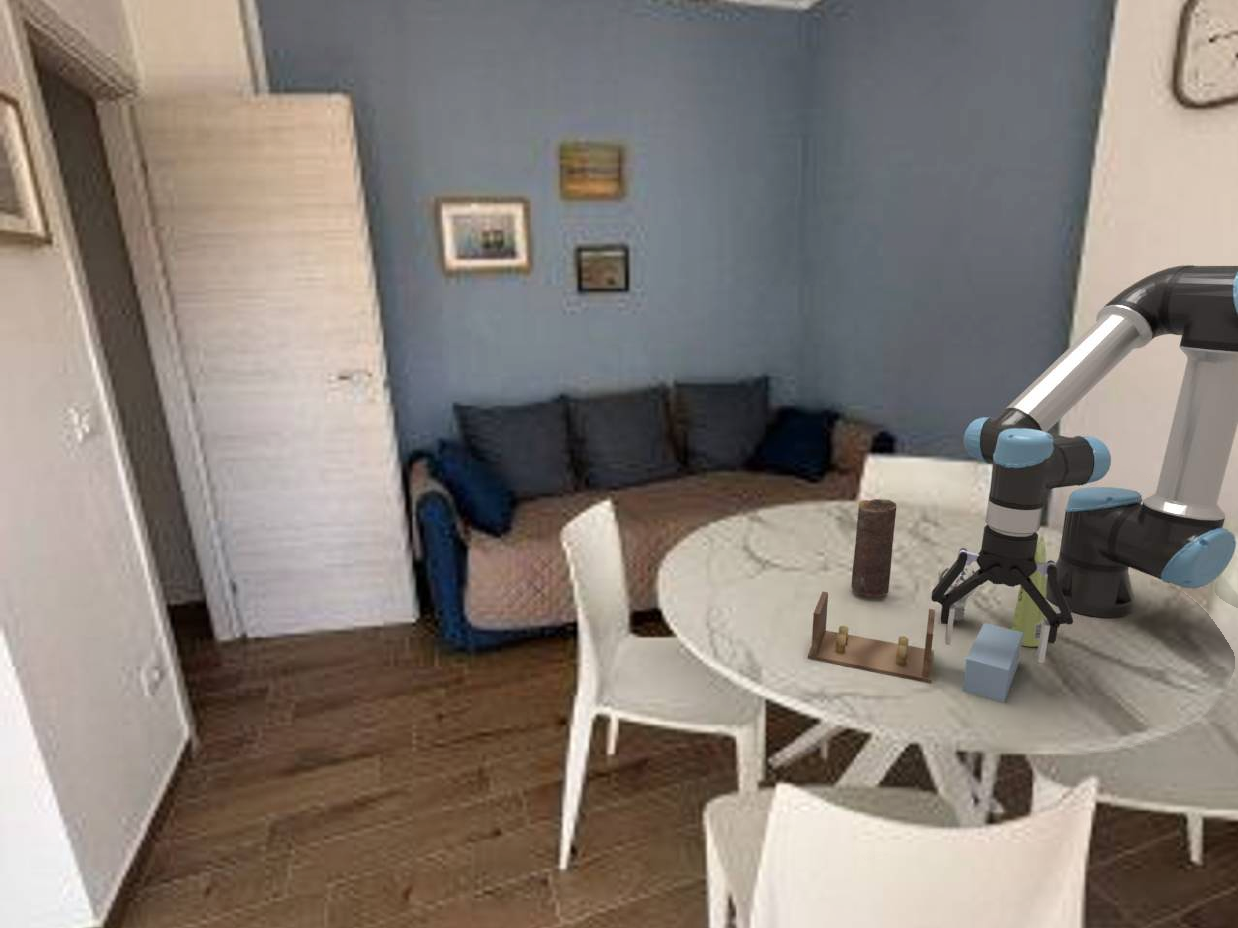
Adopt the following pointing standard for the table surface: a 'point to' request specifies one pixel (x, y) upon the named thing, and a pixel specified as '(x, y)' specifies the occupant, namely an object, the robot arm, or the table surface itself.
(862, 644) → the peg stand
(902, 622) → the table surface
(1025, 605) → the tube
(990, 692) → the block
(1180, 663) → the table surface
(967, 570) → the light bulb
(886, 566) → the brown rusty cylinder
